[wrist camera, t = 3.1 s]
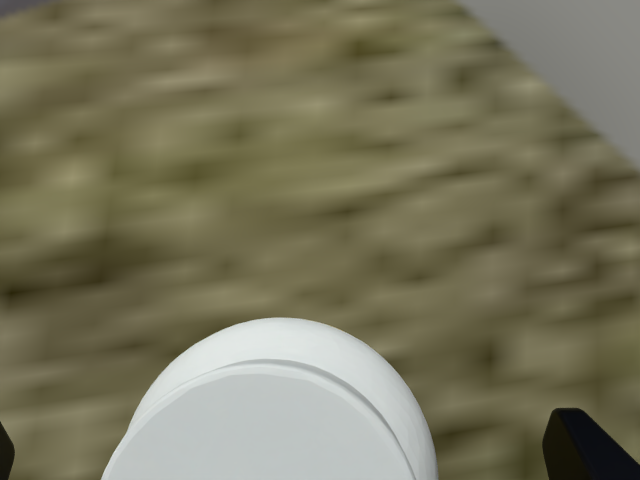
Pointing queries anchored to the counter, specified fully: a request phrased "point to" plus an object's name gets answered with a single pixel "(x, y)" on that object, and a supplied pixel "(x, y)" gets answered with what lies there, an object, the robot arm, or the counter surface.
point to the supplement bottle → (277, 412)
